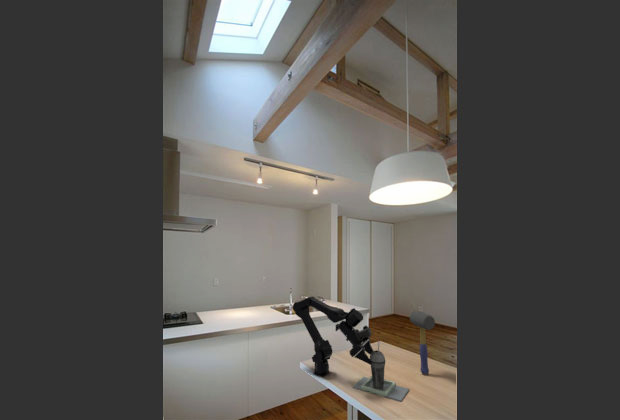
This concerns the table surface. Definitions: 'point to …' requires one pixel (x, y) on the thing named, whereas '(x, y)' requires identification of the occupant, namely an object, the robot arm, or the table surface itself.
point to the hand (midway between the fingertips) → (373, 360)
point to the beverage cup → (377, 368)
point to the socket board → (388, 390)
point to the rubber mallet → (423, 335)
